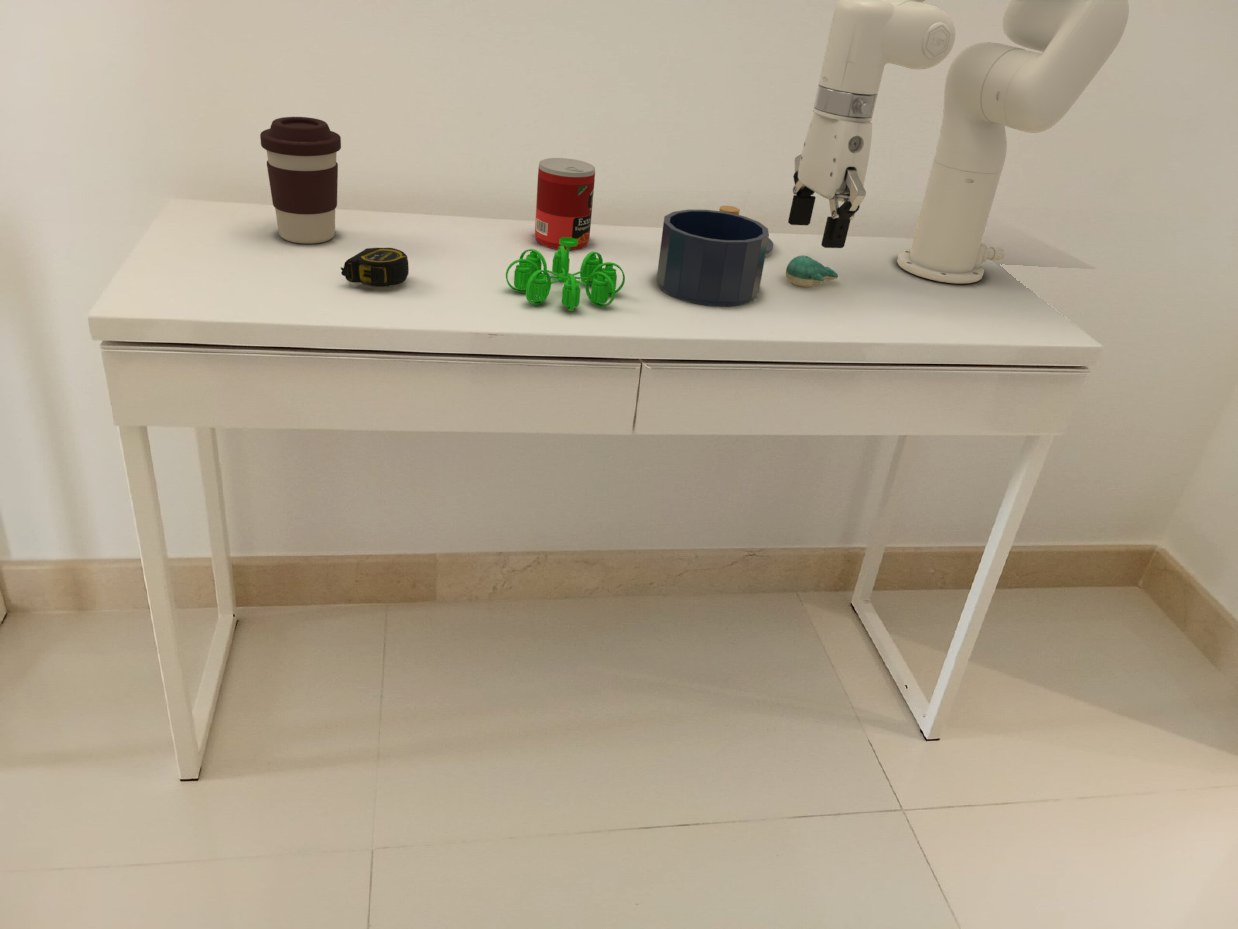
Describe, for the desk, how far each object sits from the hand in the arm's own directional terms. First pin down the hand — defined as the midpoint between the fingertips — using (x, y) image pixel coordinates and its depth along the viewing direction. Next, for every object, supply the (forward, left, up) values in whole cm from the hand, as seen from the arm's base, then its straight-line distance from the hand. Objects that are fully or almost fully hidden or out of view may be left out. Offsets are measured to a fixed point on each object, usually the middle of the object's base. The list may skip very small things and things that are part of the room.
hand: (814, 235), depth 134 cm
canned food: (+30, -18, -7) cm, 36 cm away
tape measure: (+58, -3, -7) cm, 59 cm away
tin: (+15, +1, -7) cm, 17 cm away
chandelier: (+35, +2, -7) cm, 36 cm away
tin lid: (+5, -16, -6) cm, 18 cm away
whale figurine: (-1, 0, -7) cm, 7 cm away
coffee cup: (+65, -21, -7) cm, 69 cm away
